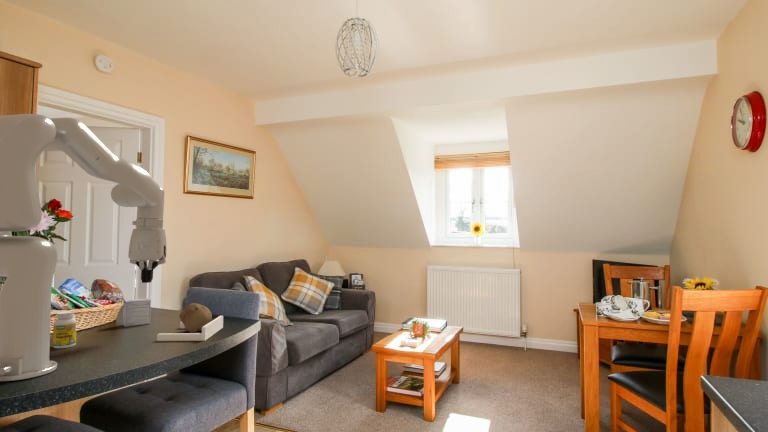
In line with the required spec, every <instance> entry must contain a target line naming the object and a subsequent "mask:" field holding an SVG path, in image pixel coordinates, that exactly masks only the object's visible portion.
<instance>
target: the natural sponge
mask: <svg viewBox="0 0 768 432" xmlns="http://www.w3.org/2000/svg"><path fill="white" fill-rule="evenodd" d="M179 320H180V322H182V323H183V324H184V326H185V328H184V329H186V330H187V332H189V333H198V332H200V331H202V327H203V326H205V325H206V324H208V323H209V322H211V321H213V315H212V312H211V310H210V309H209V307H206V306H205V305H203V304H200V303H197V302H192V303H190V304H188V305H187V306H186V307H185V308H184V309H183V310H181V312H180V313H179Z"/></svg>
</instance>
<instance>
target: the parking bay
mask: <svg viewBox="0 0 768 432" xmlns="http://www.w3.org/2000/svg"><path fill="white" fill-rule="evenodd" d="M223 328H224V315H218V317H216V318H214V319H212V321H211V322H209V323H208V324H206V325H205V326H203V327H202V330H201V332H189V333H188V332H187V333H184V332H183V333H182V332H180V333H177V332H175V333H173V332H172V333H171V332H170V333H167V332H166V333H162V332H161V333H158V334H157V336H156V341H157V342H183V341H185V342H189V341H191V342H192V341H198V342H200V341H202V342H203V341H204V342H205V341H207V340H208V339H209V338H211V337H212V336H213V335H214V334H216V333H218V332H219V331H220V330H222V329H223ZM179 329H186V328H185V326H184V324H183V323H182V321H180V322H179Z"/></svg>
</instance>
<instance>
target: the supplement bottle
mask: <svg viewBox="0 0 768 432" xmlns="http://www.w3.org/2000/svg"><path fill="white" fill-rule="evenodd" d="M74 312H75V311H70V310H69V311H67V310H66V311H60V312H56V319H57V320H54V322H53V326H52V327H53V329H52V332H53V333H52V335H53V336H52V346H53V348H54V349H66V348H67V349H68V348H72V347H75V346H76V345H77V320H76V318H73V317H74V315H75V313H74Z"/></svg>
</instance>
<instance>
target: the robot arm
mask: <svg viewBox="0 0 768 432" xmlns="http://www.w3.org/2000/svg"><path fill="white" fill-rule="evenodd" d="M86 125H87V124H85V123H84V122H82V121H81V120H79V119H78V118H74V117H50V118H49V117H47V116H45V115H43V114H42V115H41V114H36V113H21V114H20V113H19V114H10V115H9V114H7V115H6V114H5V115H0V277H5V278H6V279H5V281H4V283H3V285H2V287H1V289H0V382H10V381H20V380H27V379H31V378H32V379H33V378H37V377H41V376H44V375H47V374H49V373H52V372H53V371H56V369H57V368H58V362H57V361H55V360H50V351H51V350H50V348H51V346H50V345H51V343H50V341H51V316H52V315H51V314H52V313H51V312H52V311H51V310H52V288H53V287H52V285H53V279H54V274H55V271H56V267H57V263H58V252H57V248H56V247H55V245H54V244H53V243H52V242H51V241H50V240H48V239H45V238H43V237H39V236H33V235H32V236H31V235H28V236H27V235H13V234H12V232H25V231H30V230H34V229H35V228H37V227H38V226H39V225H40V223H41V222H42V216H43V212H42V206H41V199H40V195H39V189H38V184H37V178H36V165H37V162H38V159H39V158H40V156H41V155H42V154H43V153H44V152H63V153H64V154H65V155H66V156H67V157H68V158H70V160H72V161H73V162H74V163H75V164H76V165H78V166H79V167H80V168H81V169H82V170H83V171H84V172H85V173H86V174H87V175H89V176H92V177H95V178H97V179H101V180H103V181H109V182H113V183H116V185H114V186H113V187H112V188H111V191H110V198H111V200H112V201H113V202H114V203H115V204H116V205H117V206H119V207H124V208H125V207H126V208H136V209H137V210H136V218H135V220H132V222H131V224H132V225H133V226H135V228H133V229H132V232H131V235H130V240H129V244H128V245H129V247H128V259H129V263H130V264H133V265H136V266H137V267H138V268H139V270H140V280H141V283H142V284H143V283H144V284H149V283H152V280H154V279H153V278H154V270H156V268H157V267H158V266H159V265H164V264H166V263H167V261H166V258H167V236H166V231H165V229H163V228H164V210H165V190H164V188H162V187H160V185H159V183H158V182H157V181H156V180H155V178H153V176H152V175H151V174H149V173H148V172H147V170H145V169H144V168H142V167H140V166H138V165H137V164H135V163H134V162H131V161H129V160H127V159H124V158H123V157H120V156H118V155H116V153H114V152H112V150H110V149H109V147H108V146H107V145H105V144H104V143H103V142H102V140H100V138H99V137H98V136H97V135H96V134H95V133H93V131H92V130H91V129H90V128H89V127H88V126H86Z"/></svg>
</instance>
